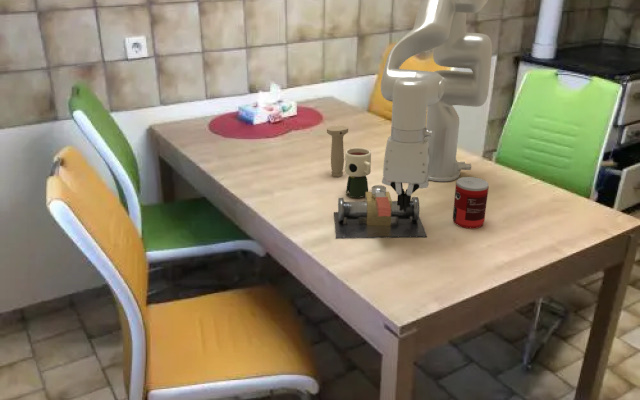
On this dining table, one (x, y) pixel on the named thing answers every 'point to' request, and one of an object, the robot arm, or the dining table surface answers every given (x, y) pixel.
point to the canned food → (470, 202)
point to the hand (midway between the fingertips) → (403, 208)
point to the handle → (337, 149)
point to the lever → (381, 200)
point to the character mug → (357, 171)
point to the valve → (377, 220)
